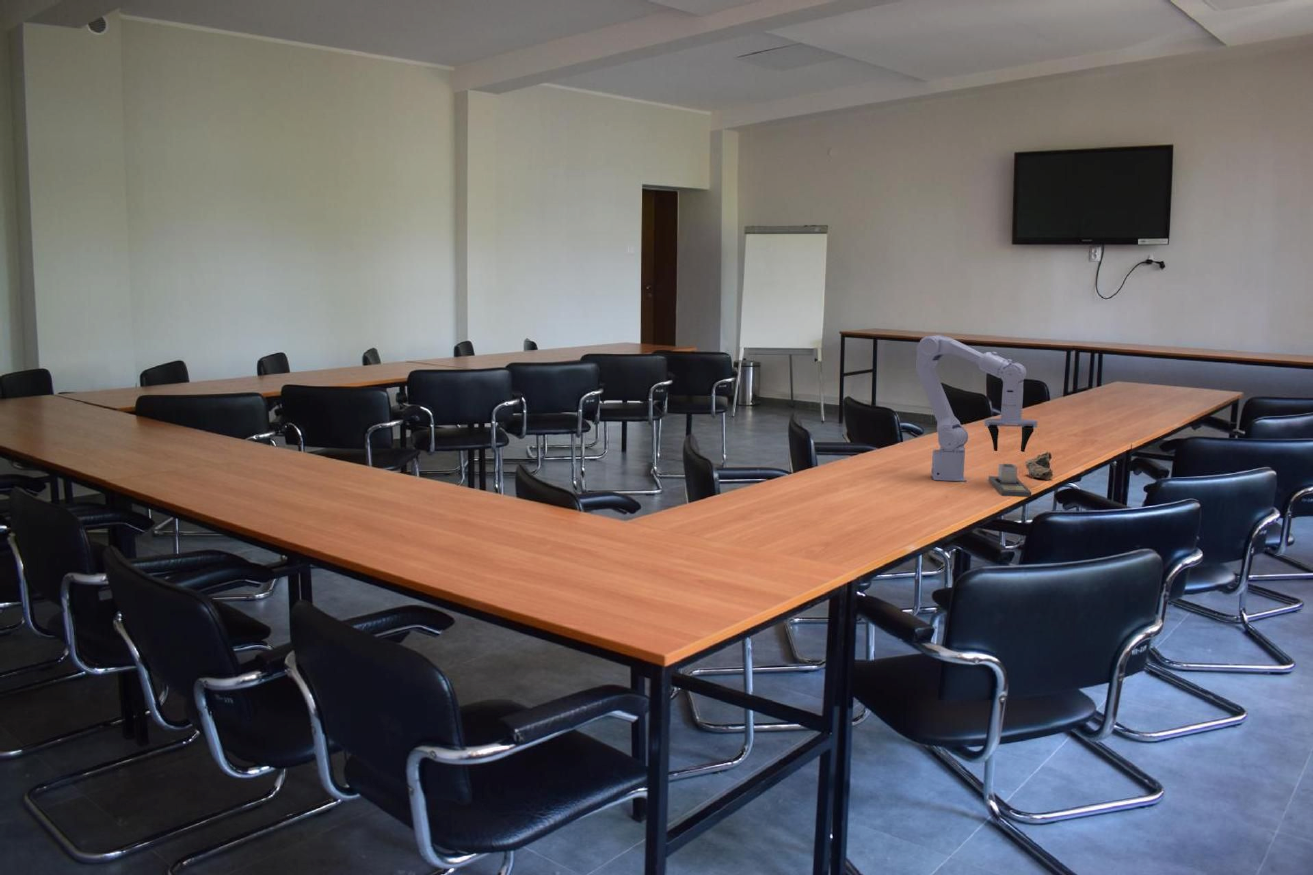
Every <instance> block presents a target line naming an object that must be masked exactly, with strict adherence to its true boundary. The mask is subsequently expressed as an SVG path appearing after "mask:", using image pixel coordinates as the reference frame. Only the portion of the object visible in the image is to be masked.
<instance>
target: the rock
mask: <svg viewBox="0 0 1313 875" xmlns="http://www.w3.org/2000/svg"><path fill="white" fill-rule="evenodd" d="M1051 460H1052V454H1051V452H1049V451H1046V452H1045V453H1043V454H1038V455H1037V456H1036V457H1034V458H1032V459H1029V460H1027V461H1025V467H1026V469H1027V471H1028V475H1029V477H1030V478H1031V479H1034V478H1037V479H1040V480H1044V481H1048V480H1050V479H1051V478H1052V477H1054V475H1053V469H1051V463H1050V461H1051Z"/></svg>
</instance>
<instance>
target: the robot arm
mask: <svg viewBox="0 0 1313 875" xmlns="http://www.w3.org/2000/svg"><path fill="white" fill-rule="evenodd" d="M915 349H916V361H915V370H916V373H917V376H918V378H919V380H920V383H921V385H922V388H923V390H924V392H925V395H926V398H927V400H928V402H929V404H930V407H931V410H932V412H933V415H934V416H935V419H936V420H935V421H936V422H937V424H936V431H937V434H938V436H937V441H938V445H939V446H940V448H939V449H933V451H932V457H931V458H932V462H931V471H930V472H931V474H930V475H931V478H932V479H933V480H934V481H946V482H947V481H951V482H967V478H966V477H965V476H964V475H965V459H966V447H965V445H966V444H967V442H968V439H969V433H968V431H967V430H966V429H965V428H964V427H963V426H962V425H961V422H960V420H959V419H958V418H957V417H956V416H955V414H954V412H953V409H952V407H951V405H950V402H949V399H948V398H947V395H946V393H945V390H944V388H943V385H942V382H941V380H940V377H939V375H938V373H937V370H936V367H937V364H938V363H939V361H940V359H942V357H943V356H944V355H948V354H949V355H950V354H951V355H952V354H953V355H956V356H958V357H959V358H964V359H966V360H968V361H970V362H973V363H976V364H977V366H978V367H979V370H981V371H983V372H985V373H987V374H989V375H991V376H994V377H996V378H998V379H1001V381H1002V391H1001V392H1002V393H1001V405H1000V406H1001V409H1000V411H1001V412H1000V418H984V427H987V429H988V431H989V434H990V436H991V439H992V445H993V451H994V452H998V448H999V446H998V444H999V443H998V442H999V441H998V440H999V439H998V438H999V432H1000V429H999V427H1015V428H1018V427H1020V428H1021V442H1020V452H1022V453H1025V452H1026V448H1027V445H1028V442H1029V440H1030V437H1031V436H1032V435H1033V432H1034V431H1035V428H1038V420H1037V419H1025V418H1024V419H1022V418H1023V416H1022V415H1023V402H1024V401H1023V400H1024V380H1025V379H1026V377H1027V374H1028V373H1027V369H1026V367H1025V366H1024V365H1023V364H1021V363H1020V362H1013V359H1011V358H1008V359H1006V358H1004V357H1001V356H1000V355H998V352H996V351H992V352H990V351H987V352H984V353H982V352H980V351H978V350H977V349H974V348H972V347H970V346H969V345H967V344H965V343H962V342H960V341H958V340H956V339H953V338H952V337H949V336H945V335H942V334H934V335H927V336H924V337H922V338H921V339H920V341H919V343H918V344H917V346H916V348H915Z"/></svg>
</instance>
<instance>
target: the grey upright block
mask: <svg viewBox="0 0 1313 875" xmlns="http://www.w3.org/2000/svg"><path fill="white" fill-rule="evenodd" d="M1017 478H1018V467H1017V466H1016V465H1015V464H1013V463H1002V464H1001V463H1000V464H998V483H999V484H1016V481H1017Z"/></svg>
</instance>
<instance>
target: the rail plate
mask: <svg viewBox="0 0 1313 875" xmlns="http://www.w3.org/2000/svg"><path fill="white" fill-rule="evenodd" d="M988 481H989V482H990V484H991V485H992V486H993V487H994V488H995V490H996V491H997V492H998V493H999V494H1000V495H1001V496H1002V497H1005V496H1006V497H1007V496H1009V497H1030V498H1031V497H1032V492H1031V490H1030V489H1029V488H1027V486H1026V485H1025V484H1024V483H1023V482H1022V481H1021V480H1020V479H1019V478H1018V477H1017V481H1016V484H999V483H998V476H993V475H990V476H988Z"/></svg>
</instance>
